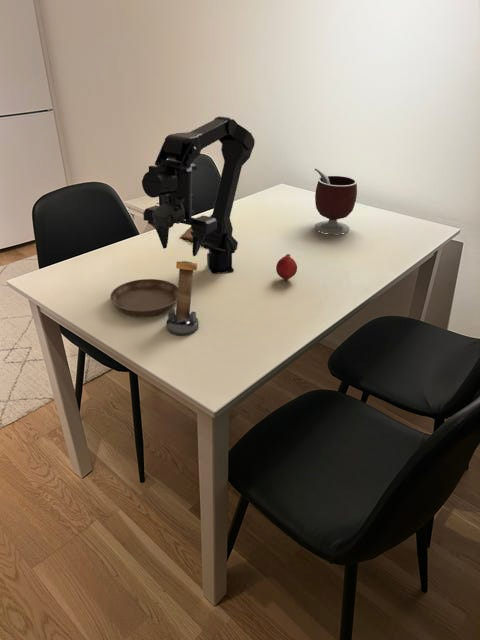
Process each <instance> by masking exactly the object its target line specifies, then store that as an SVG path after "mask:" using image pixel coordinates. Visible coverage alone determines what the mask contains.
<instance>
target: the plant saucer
mask: <svg viewBox="0 0 480 640" xmlns="http://www.w3.org/2000/svg"><path fill="white" fill-rule="evenodd" d="M177 294H178V285H176V284H174V283H172V282H170V281H167V280H162V279H156V278H147V279H146V278H144V279H135V280H131V281H128V282H125V283H122V284H120V285H119V286H117V287H115V288H114V289H113V290H112V292H111V293H110V301H111V303H112V304H113V306H115V307H116V309H118V310H119V311H121V312H122V313H124V314H126V315H129V316H135V317H153V316H156V315H157V316H158V315H161V314H163V313H166V312H167V311H170V309H172V307H174V305H175V304H177Z"/></svg>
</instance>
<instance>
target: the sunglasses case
mask: <svg viewBox="0 0 480 640" xmlns="http://www.w3.org/2000/svg"><path fill="white" fill-rule="evenodd" d="M192 231H193V230H192V228H191V226H190V227H189V228H188V229H186V231H185V232H184V233H183V234H182V235H181V236H180V237H178V239H180V240H183V241H184V240H185V241H187V242H190V243H192V244H193V236H192V235H191V233H190V232H192ZM201 247H203V248H204V246H203V243H202V244H201Z"/></svg>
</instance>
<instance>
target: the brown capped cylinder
mask: <svg viewBox="0 0 480 640" xmlns="http://www.w3.org/2000/svg"><path fill="white" fill-rule="evenodd" d="M175 268H176V269H178V270H179V271H178V282H177V283H178V285H177V287H178V294H177V302H176V309H175V315H176V317H177V318H183V319H187V318H189V314H190V313H191V301H192V292H193V291H192V289H193V287H192V286H193V278H194V277H193V276H194V271H197V270H198V263H196V262H193V261H188V260H185V261H184V260H181V261H176V267H175Z"/></svg>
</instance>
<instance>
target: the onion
mask: <svg viewBox="0 0 480 640" xmlns="http://www.w3.org/2000/svg"><path fill="white" fill-rule="evenodd" d="M275 269H276V274H277V275H278V276H279V278H282V279H283V280H285V281H288V280H290V279H291V278H292V277H294V276H295V275H296V273H297V271H298V264H297V262H296V261H295V259H293V258H292V257H291V254H290V253H286V254H285V256H283V257H282V258H280V259H278V261H277V263H276V266H275Z"/></svg>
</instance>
